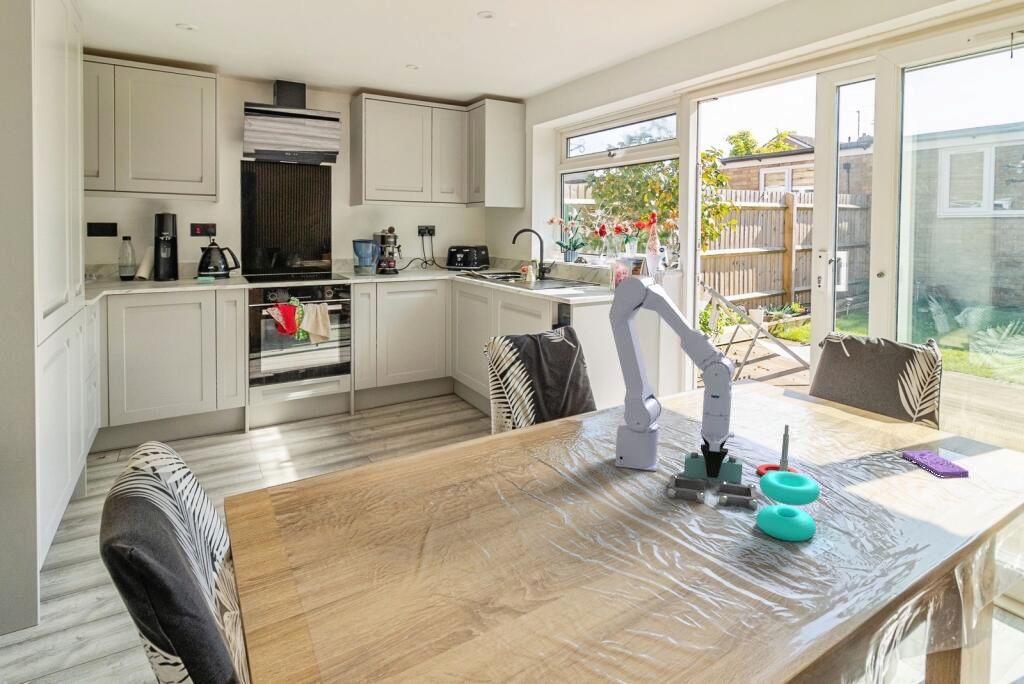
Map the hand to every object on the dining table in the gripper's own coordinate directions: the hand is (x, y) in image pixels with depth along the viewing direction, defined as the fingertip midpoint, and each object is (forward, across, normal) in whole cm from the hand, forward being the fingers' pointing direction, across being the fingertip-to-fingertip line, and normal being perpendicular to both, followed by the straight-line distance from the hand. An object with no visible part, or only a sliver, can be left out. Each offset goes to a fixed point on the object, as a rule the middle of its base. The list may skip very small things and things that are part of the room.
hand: (712, 471), depth 137 cm
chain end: (+1, -10, +5) cm, 11 cm away
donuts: (+2, -21, -13) cm, 25 cm away
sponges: (+2, +23, -49) cm, 54 cm away
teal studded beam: (+2, 0, 0) cm, 2 cm away
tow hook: (+2, +6, -14) cm, 15 cm away
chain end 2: (+1, -10, -5) cm, 11 cm away
